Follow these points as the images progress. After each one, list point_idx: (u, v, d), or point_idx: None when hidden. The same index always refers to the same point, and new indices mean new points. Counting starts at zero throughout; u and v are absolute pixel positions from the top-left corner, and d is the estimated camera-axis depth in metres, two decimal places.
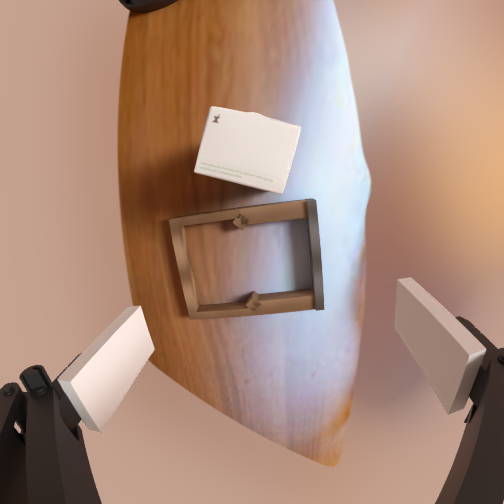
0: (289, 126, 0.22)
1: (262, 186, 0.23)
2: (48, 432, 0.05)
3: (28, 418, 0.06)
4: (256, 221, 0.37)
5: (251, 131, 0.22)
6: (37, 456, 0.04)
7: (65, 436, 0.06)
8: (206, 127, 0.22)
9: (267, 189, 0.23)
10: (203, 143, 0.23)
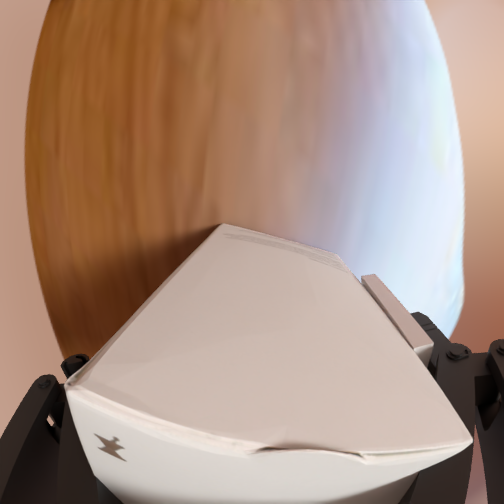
0: (441, 456, 0.03)
1: None
2: None
3: (66, 408, 0.06)
4: None
5: (283, 500, 0.04)
6: (72, 450, 0.05)
7: None
8: (87, 452, 0.04)
9: None
10: (101, 481, 0.04)
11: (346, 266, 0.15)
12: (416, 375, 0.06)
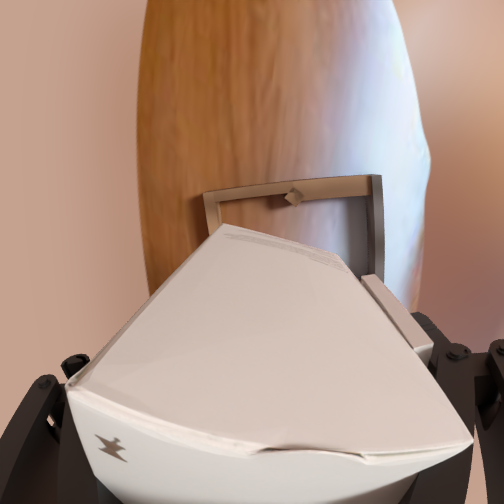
0: (442, 457, 0.03)
1: None
2: None
3: (66, 408, 0.06)
4: (313, 196, 0.30)
5: (283, 500, 0.04)
6: (72, 450, 0.05)
7: None
8: (88, 453, 0.04)
9: None
10: (102, 482, 0.04)
11: (346, 266, 0.15)
12: (416, 375, 0.06)
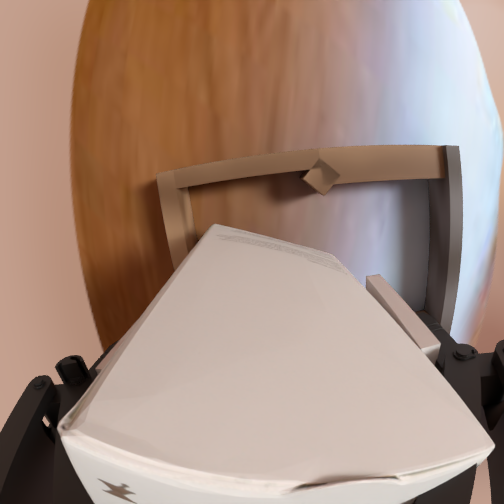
0: (468, 465, 0.03)
1: None
2: None
3: (61, 409, 0.06)
4: (355, 177, 0.16)
5: None
6: None
7: None
8: (89, 491, 0.03)
9: None
10: None
11: (344, 267, 0.15)
12: (434, 383, 0.05)
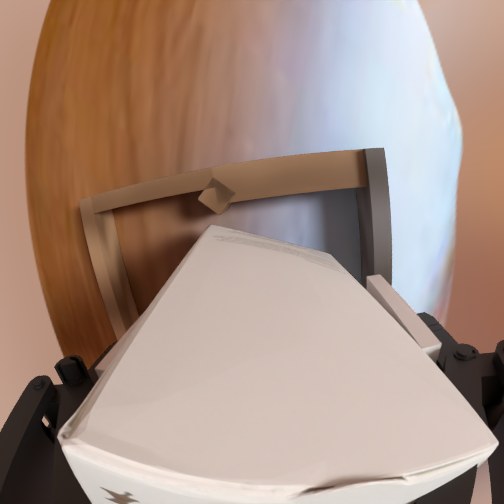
0: (472, 463, 0.03)
1: None
2: None
3: (60, 409, 0.06)
4: (252, 194, 0.16)
5: None
6: None
7: None
8: (92, 499, 0.03)
9: None
10: None
11: None
12: (437, 382, 0.05)
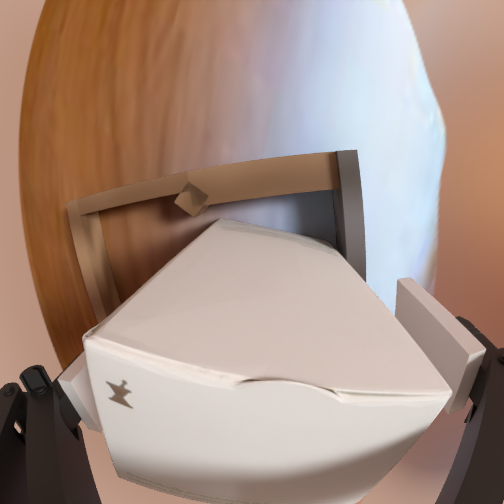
0: (420, 404, 0.05)
1: None
2: (48, 432, 0.05)
3: (28, 418, 0.06)
4: (225, 197, 0.16)
5: (271, 444, 0.05)
6: (37, 456, 0.04)
7: (65, 436, 0.06)
8: (99, 408, 0.05)
9: None
10: (111, 443, 0.05)
11: (337, 251, 0.17)
12: (394, 334, 0.07)
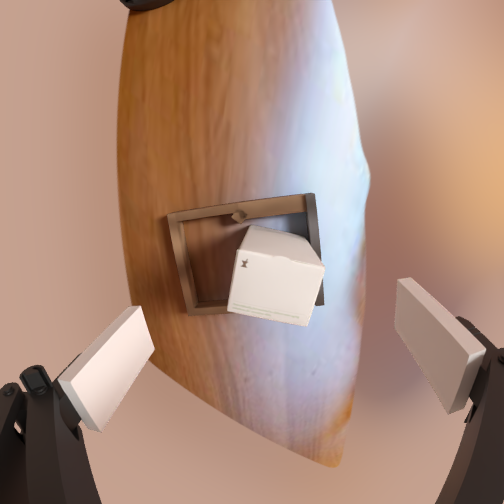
0: (314, 268, 0.25)
1: (289, 322, 0.26)
2: (48, 432, 0.05)
3: (28, 418, 0.06)
4: (255, 215, 0.37)
5: (279, 275, 0.25)
6: (37, 456, 0.04)
7: (65, 436, 0.06)
8: (235, 271, 0.25)
9: (294, 323, 0.26)
10: (234, 286, 0.26)
11: None
12: (312, 257, 0.27)
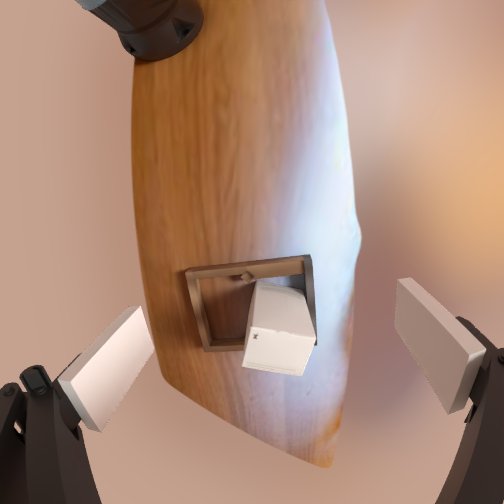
0: (308, 338, 0.32)
1: (288, 373, 0.33)
2: (48, 432, 0.05)
3: (28, 418, 0.06)
4: (261, 276, 0.44)
5: (281, 344, 0.32)
6: (37, 456, 0.04)
7: (65, 436, 0.06)
8: (248, 341, 0.32)
9: (291, 374, 0.33)
10: (247, 351, 0.33)
11: (303, 296, 0.44)
12: (307, 325, 0.34)
